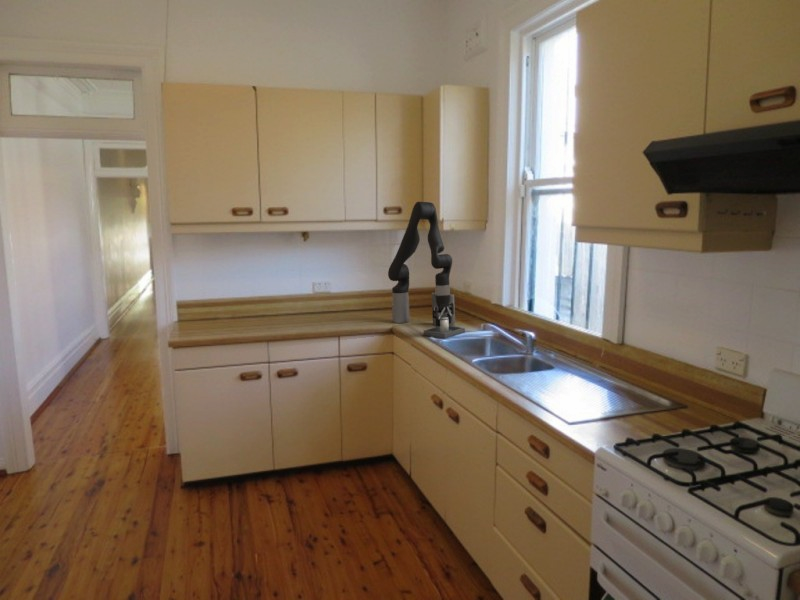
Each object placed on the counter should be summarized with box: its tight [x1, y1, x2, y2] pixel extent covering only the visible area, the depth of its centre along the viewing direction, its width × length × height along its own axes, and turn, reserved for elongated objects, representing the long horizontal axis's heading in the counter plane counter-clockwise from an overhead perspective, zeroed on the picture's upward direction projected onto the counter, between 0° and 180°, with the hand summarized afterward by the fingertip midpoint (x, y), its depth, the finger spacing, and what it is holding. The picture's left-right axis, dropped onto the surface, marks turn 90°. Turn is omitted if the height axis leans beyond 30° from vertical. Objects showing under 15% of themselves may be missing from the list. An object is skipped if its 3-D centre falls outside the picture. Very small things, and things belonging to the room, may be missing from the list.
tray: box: [423, 325, 466, 339], centre depth 293 cm, size 14×16×2 cm
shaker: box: [440, 317, 449, 333], centre depth 292 cm, size 5×5×8 cm
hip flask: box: [431, 292, 456, 327], centre depth 312 cm, size 16×4×20 cm, turn 41°
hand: (443, 324), depth 292 cm, fingers open, 8 cm apart
